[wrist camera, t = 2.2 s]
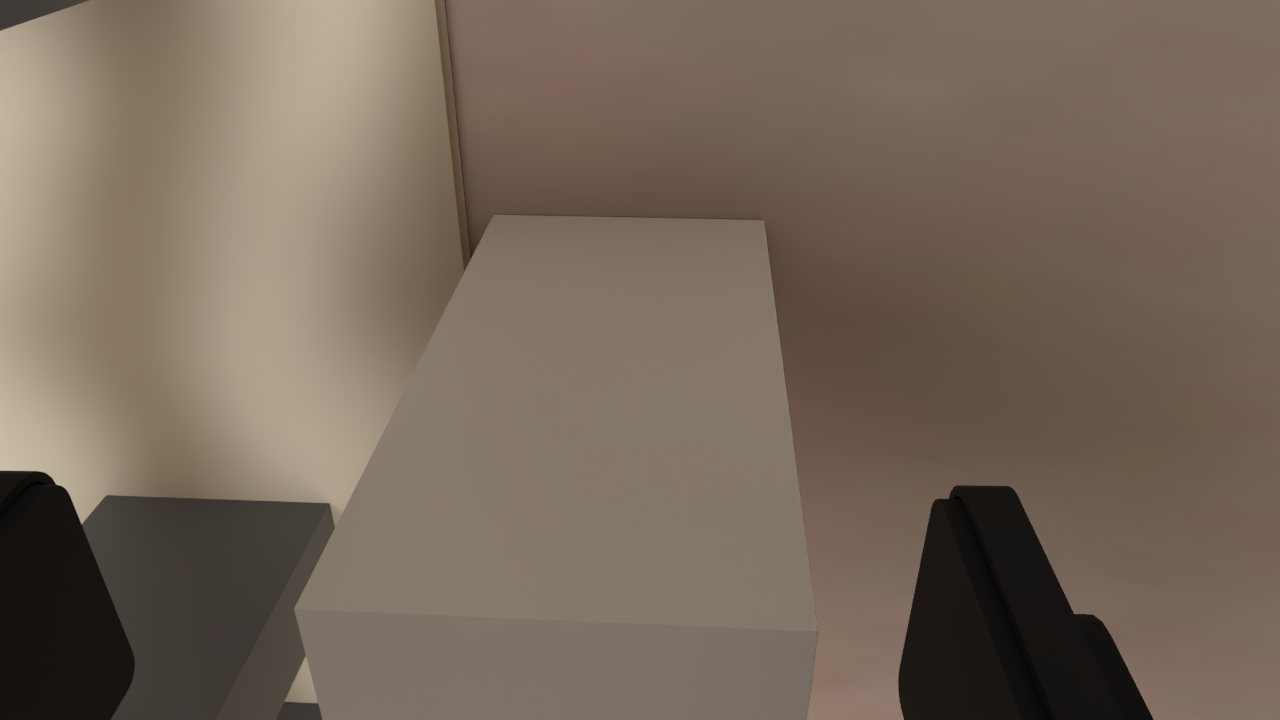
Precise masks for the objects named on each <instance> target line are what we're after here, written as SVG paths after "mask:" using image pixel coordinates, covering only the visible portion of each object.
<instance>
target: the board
mask: <svg viewBox="0 0 1280 720" xmlns="http://www.w3.org/2000/svg"><path fill="white" fill-rule="evenodd" d="M470 260H471V256H470V246H469V236H468V227H467V217H466V207H465V197H464V188H463V178H462V168H461V158H460V149H459V139H458V129H457V119H456V110H455V100H454V90H453V80H452V71H451V61H450V51H449V42H448V32H447V22H446V12H445V3H444V0H89V1H86V2H83V3H80V4H77V5H75V6H72V7H69V8H66V9H63V10H60V11H57V12H54V13H51V14H48V15H45V16H42V17H39V18H36V19H33V20H30V21H28V22H25V23H22V24H19V25H16V26H13V27H10V28H7V29H4V30H1V31H0V471H39V472H44V473H47V474H48V475H49V476H50V477H52V479H53V480H54V482H55V484H56V485H59V486H62V487H64V488H65V489H66V490H67V492H68V493H69V495H70V497H71V500H72V502H73V504H74V507H75V509H76V512H77V514H78V517H79V519H80V522H81V524H82V523H83V522H84V521H85V520H86V518H87V517H88V516H89V515H90V514H91V513H92V511H93V510H94V509H95V508H96V507H97V505H98V504H99V503H100V502H101V501H102V500H103V498H104V497H105V496H106V495H116V496H144V497H171V498H199V499H226V500H254V501H282V502H309V503H330V507H331V512H332V517H333V521H334V526H335V527H336V525H337V523H338V521H339V519H340V517H341V515H342V513H343V511H344V509H345V507H346V505H347V503H348V501H349V499H350V497H351V495H352V493H353V491H354V489H355V487H356V485H357V483H358V481H359V479H360V477H361V475H362V474H363V472H364V470H365V468H366V466H367V464H368V462H369V460H370V458H371V456H372V454H373V452H374V450H375V448H376V446H377V444H378V442H379V440H380V438H381V436H382V434H383V432H384V430H385V428H386V426H387V424H388V422H389V420H390V418H391V416H392V414H393V412H394V410H395V408H396V406H397V404H398V402H399V400H400V398H401V396H402V394H403V392H404V390H405V388H406V386H407V384H408V383H409V381H410V379H411V377H412V375H413V373H414V371H415V369H416V367H417V365H418V363H419V361H420V359H421V357H422V355H423V353H424V351H425V349H426V347H427V345H428V343H429V341H430V339H431V337H432V335H433V333H434V331H435V329H436V327H437V325H438V323H439V321H440V319H441V317H442V315H443V313H444V311H445V309H446V307H447V305H448V303H449V301H450V299H451V297H452V295H453V293H454V291H455V290H456V288H457V286H458V284H459V282H460V280H461V278H462V276H463V274H464V272H465V270H466V268H467V266H468V264H469V262H470ZM284 702H301V703H318V700H317V696H316V692H315V688H314V685H313V681H312V677H311V673H310V669H309V665H308V661H307V657H306V656H305V658H304V660H303V663H302V665H301V667H300V669H299V671H298V673H297V675H296V678H295V680H294V682H293V684H292V686H291V688H290V691H289V693H288V695H287V697H286V699H285V701H284Z"/></svg>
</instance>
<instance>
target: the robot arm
mask: <svg viewBox="0 0 1280 720" xmlns="http://www.w3.org/2000/svg"><path fill="white" fill-rule="evenodd" d="M134 670H135V658H134V654H133V651H132V649H131V646H130V644H129V641H128V639H127V636H126V634H125V631H124V629H123V626H122V624H121V621H120V619H119V616H118V614H117V611H116V609H115V606H114V604H113V601H112V599H111V596H110V594H109V591H108V589H107V587H106V584H105V582H104V579H103V577H102V574H101V572H100V569H99V567H98V564H97V562H96V559H95V557H94V554H93V552H92V549H91V547H90V544H89V542H88V539H87V537H86V534H85V532H84V529H83V527H82V524H81V522H80V519H79V517H78V514H77V512H76V509H75V507H74V504H73V502H72V500H71V497H70V495H69V493H68V492H67V490H66V489H65V488H64V487H62V486H59V485H56V484H55V482H54V480H53V479H52V477H50V476H49V475H48V474H47V473H44V472H39V471H0V720H111V718H112V717H113V715H114V713H115V712H116V710H117V708H118V706H119V705H120V703H121V701H122V700H123V698H124V696H125V695H126V693H127V691H128V689H129V687H130V685H131V683H132V680H133V676H134ZM898 684H899V698H900V704H901V709H902V713H903V717H904V720H1153V718H1152V716H1151V714H1150V712H1149V710H1148V708H1147V706H1146V704H1145V702H1144V700H1143V698H1142V696H1141V694H1140V692H1139V690H1138V688H1137V686H1136V684H1135V682H1134V680H1133V678H1132V676H1131V674H1130V672H1129V670H1128V668H1127V666H1126V664H1125V662H1124V660H1123V658H1122V657H1121V655H1120V653H1119V651H1118V649H1117V647H1116V645H1115V643H1114V641H1113V639H1112V637H1111V635H1110V633H1109V632H1108V630H1107V629H1106V627H1105V626H1104V624H1103V623H1102V621H1100V620H1099V619H1098V618H1097V617H1095V616H1094V615H1086V614H1074V613H1073V611H1072V609H1071V607H1070V605H1069V603H1068V601H1067V598H1066V596H1065V594H1064V592H1063V590H1062V588H1061V586H1060V584H1059V582H1058V580H1057V577H1056V575H1055V573H1054V571H1053V569H1052V567H1051V565H1050V563H1049V561H1048V559H1047V556H1046V554H1045V552H1044V550H1043V548H1042V546H1041V544H1040V542H1039V540H1038V537H1037V535H1036V533H1035V531H1034V529H1033V527H1032V525H1031V523H1030V521H1029V519H1028V516H1027V514H1026V512H1025V510H1024V508H1023V506H1022V504H1021V502H1020V500H1019V498H1018V495H1017V494H1016V492H1015V491H1014V489H1012V488H1011V487H1009V486H955V487H954V488H953V489H952V491H951V493H950V497H949V499H936V500H935V501H934V503H933V505H932V509H931V513H930V518H929V523H928V528H927V533H926V538H925V543H924V548H923V553H922V558H921V563H920V568H919V573H918V578H917V583H916V588H915V594H914V599H913V604H912V609H911V614H910V619H909V624H908V629H907V634H906V639H905V644H904V649H903V654H902V659H901V664H900V669H899V682H898Z"/></svg>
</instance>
